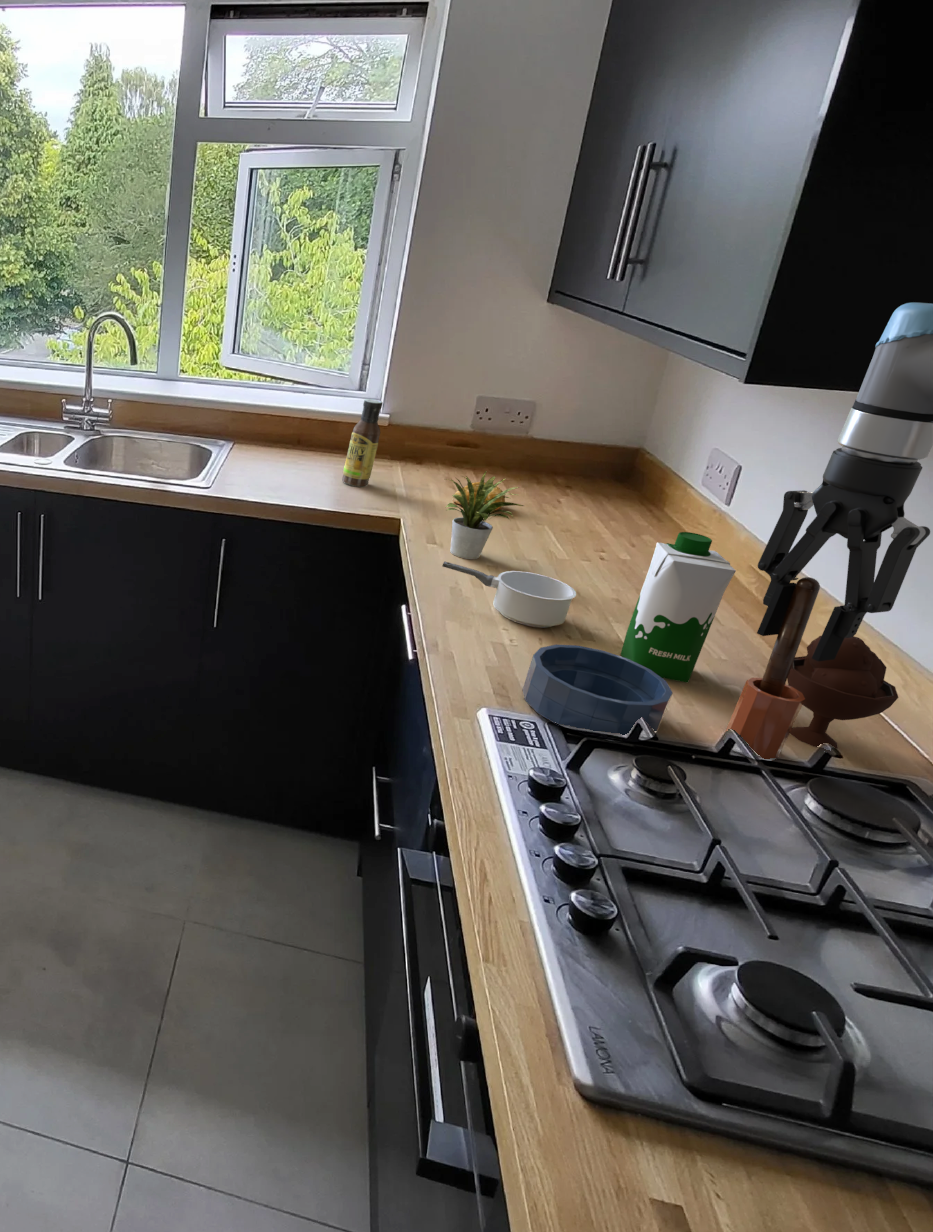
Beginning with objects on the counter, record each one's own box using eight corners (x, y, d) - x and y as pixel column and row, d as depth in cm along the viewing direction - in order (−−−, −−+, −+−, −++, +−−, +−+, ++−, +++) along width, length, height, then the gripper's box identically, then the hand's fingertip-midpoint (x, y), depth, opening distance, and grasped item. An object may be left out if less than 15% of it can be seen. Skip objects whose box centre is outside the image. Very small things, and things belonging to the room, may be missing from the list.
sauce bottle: (335, 480, 212) (352, 397, 204) (355, 479, 214) (372, 396, 207) (354, 488, 206) (372, 403, 199) (374, 487, 209) (393, 402, 201)
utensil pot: (786, 766, 108) (816, 702, 104) (743, 764, 107) (771, 700, 104) (752, 740, 113) (779, 678, 109) (710, 738, 112) (736, 676, 109)
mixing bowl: (684, 749, 110) (701, 707, 107) (563, 744, 109) (577, 702, 106) (607, 685, 124) (621, 647, 122) (500, 681, 123) (511, 642, 121)
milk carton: (676, 662, 132) (725, 536, 125) (696, 690, 124) (749, 558, 117) (611, 650, 135) (655, 526, 127) (627, 677, 127) (675, 546, 119)
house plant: (448, 569, 162) (470, 483, 155) (407, 542, 174) (426, 461, 168) (516, 569, 165) (541, 484, 158) (471, 542, 177) (493, 462, 171)
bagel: (444, 496, 206) (449, 476, 204) (492, 500, 206) (497, 480, 204) (460, 510, 197) (465, 489, 195) (510, 514, 196) (515, 493, 195)
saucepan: (442, 582, 156) (450, 552, 154) (569, 614, 146) (579, 583, 144) (429, 603, 147) (436, 571, 144) (562, 638, 137) (573, 606, 135)
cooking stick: (765, 753, 109) (827, 581, 102) (748, 752, 109) (810, 580, 102) (751, 744, 111) (811, 575, 104) (734, 743, 111) (794, 574, 104)
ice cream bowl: (851, 776, 107) (906, 666, 101) (745, 731, 115) (790, 627, 109) (878, 751, 113) (931, 646, 107) (775, 710, 121) (819, 610, 115)
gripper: (1007, 479, 88) (905, 682, 97) (813, 431, 105) (740, 610, 114) (959, 480, 86) (858, 689, 95) (768, 432, 102) (697, 614, 111)
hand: (794, 645), depth 104 cm, fingers open, 6 cm apart
